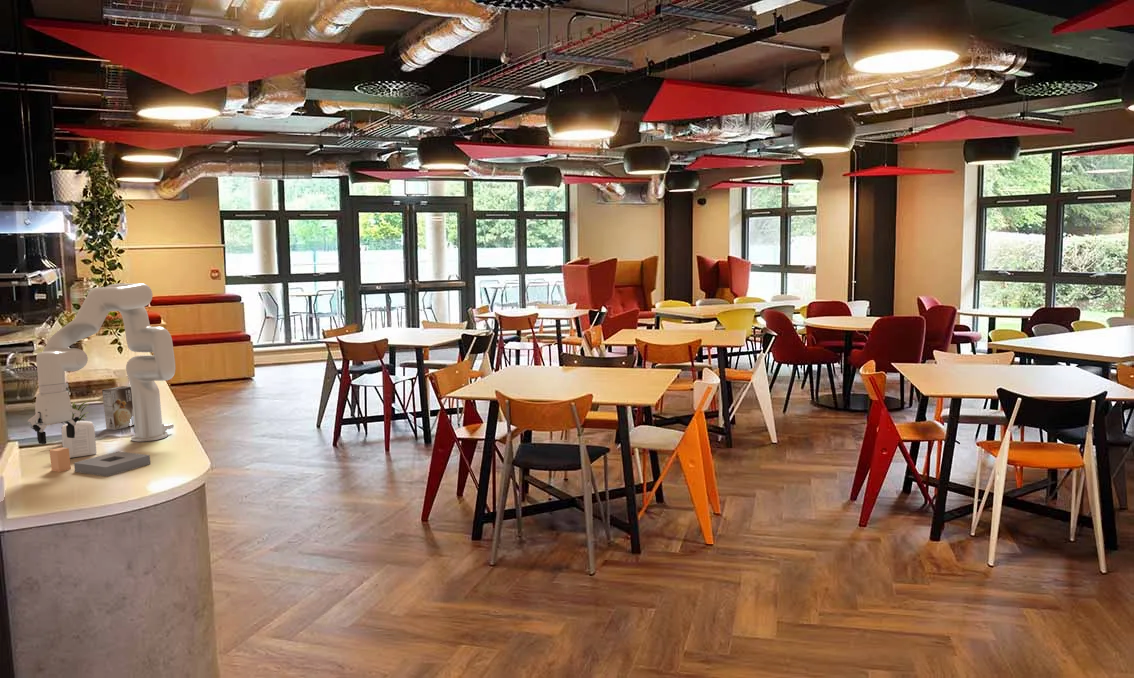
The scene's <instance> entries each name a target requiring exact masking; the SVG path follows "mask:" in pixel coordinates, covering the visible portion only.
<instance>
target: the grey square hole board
mask: <svg viewBox="0 0 1134 678" xmlns="http://www.w3.org/2000/svg"><path fill="white" fill-rule="evenodd" d="M149 465H151V456H150V454H145V453H143V454H141V453H136V452H135V453H134V452H128V451H127V452H126V451H118V450H117V451H114V452H110V453H107V454H102V455H98V456H95V457H91V458H88V459H83V460H79V461H75V462H74V463H73V467H74V472H75V473H82V474H88V475H95V476H101V477H102V476H103V477H110V476H113V475H117V474H120V473H124V472H127V471H130V470H131V471H132V470H134V469H138V468H141V467H145V466H149Z"/></svg>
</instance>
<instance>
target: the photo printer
mask: <svg viewBox="0 0 1134 678" xmlns="http://www.w3.org/2000/svg"><path fill="white" fill-rule="evenodd" d="M66 426H68V424H66V423H65V424H63V425H62V427H61V428H62V429H61V432H60V433H61V441H62V448H69V455H70V459H71V458H79V457H87V456H94V455H97V453H98V452H97V444H96V430H95V426H94V423H93V421H90V420H89V421H88V420H80V421H77V422H76V425H75V426H74V428H75V438H68V437H67V432H66Z"/></svg>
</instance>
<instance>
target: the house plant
mask: <svg viewBox="0 0 1134 678" xmlns="http://www.w3.org/2000/svg"><path fill="white" fill-rule="evenodd" d="M87 402H89V400H86V401H84V402H82V403H80V405H78V403H75V401H72V403H71V407H72V408H73V409H76V410H78V411H81V413H82V412H83V411H84V410H85V408H87V406H90V404H88V403H87ZM81 413H80V416H79V420H78V421H85V419H87V416H86V414H88V413H90V411H89V412H85V413H83V414H81ZM73 417H74V413H72V418H73ZM83 418H85V419H83ZM61 430H62V427H61Z"/></svg>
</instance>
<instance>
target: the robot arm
mask: <svg viewBox="0 0 1134 678" xmlns="http://www.w3.org/2000/svg"><path fill="white" fill-rule="evenodd" d="M152 299H153V290H152V288H151V287H150V286H149V285H148V284H146V283H134V282H133V283H126V282H124V283H112V284H109V285H106V286H104V287H103V286H102V287H101V286H100V287H99V286H98V287H95V288H93V289H90V291H89V292H88V294H87V295H86V298H85V299H84V300H83V302H82V304H81V305H80V307H79V310H78V312H77V313H76V315H75V317H74V318H73V319H72V321H70V322H68V323H67V324H65V325H64V326H63V327H61V328H60V329H58V330H57V331H56V332H55V333H53V334H52V336H51V337H50V338H49V340H48V341H47V343H46V345H45V346H44V348H43V349H42V350H43V351H41V352H38V353H37V354H36V368H37V378H38V379H37V380H38V393H39V394H36V399H35V405H34V406H35V409H34V413H35V414H34V415H33V416H31V417H30V418H29V419H27V423H28V425H29V427H30V428H31V429H32V430H33V431H35V432H36V438H37V442H38V444H39V445H46V444H47V436H46V435H47V434H46V431H45V429H46V428H47V426H49V425H50V426H52V425H57V424H63V423H65V424H68V426H66V432H67V437H68V438H75V428H74V426H75V425H76V422H77V421H78V420H79V418H80V417H81V416H80V415H81V414H80V413H82V412H81V410H79V411H78V409H77V410H76V409H73V408H72V402H71V398H70V394H69V392H68V391H67V388H69V383H66V377H65V372H67V371H68V372H69V371H70V372H72V371H74V372H75V371H79V370H82V369H84V368H85V367H86V365H87V363H88V359H89V357H88V355H87V353H86V352H85V351H84V350H82V349H80V348H75V347H74V348H72V347H71V346H72V345H74V344H75V343H76V342H79V341H81V340H84V339H87V338H90V337H91V336H93V335H96V334H97V333H98V332H100V329H101V328H102V325H103V323H104V322H105V320H106V318H107V316H108V315H109V313H110V312H119V313H120V315H121V317H122V320H123V321H122V322H123V326H124V333H125V339H126V345H127V347H128V349H129V351H131V352H135V353H153V355H152V354H149V355H148V354H146V355H145V354H144V355H135V356H131V358H129V360H128V361H127V362H126V365H125V371H126V372H125V373H126V376H127V378H128V381H129V385H130V386H129V387H131V393H132V404H133V414H134V425H135V426H134V433H135V434H134V435H132V436H131V437H130V440H131V441H132V442H151V441H153V442H154V441H158V440H162V439H165V438H167V437H168V433H169V432H167V430H170V429H174V423H168V424H165V423H163V416H162V407H161V406H162V405H161V393H160V389H159V387H158V385H157V383H156V381H157V382H159V381H162V382H164V381H169V380H171V379H173V377H174V376H175V373H176V359H175V352H174V344H173V338H172V335H171V333H170V332H169V330H168V329H167V328H165V327H163V326H151V324H150V320H149V319H150V318H149V315H148V311H147V309H146V306H148V305H149V304H151V302H152ZM70 347H71V348H70ZM72 413H74V417H73V418H72ZM79 416H80V417H79Z"/></svg>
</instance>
